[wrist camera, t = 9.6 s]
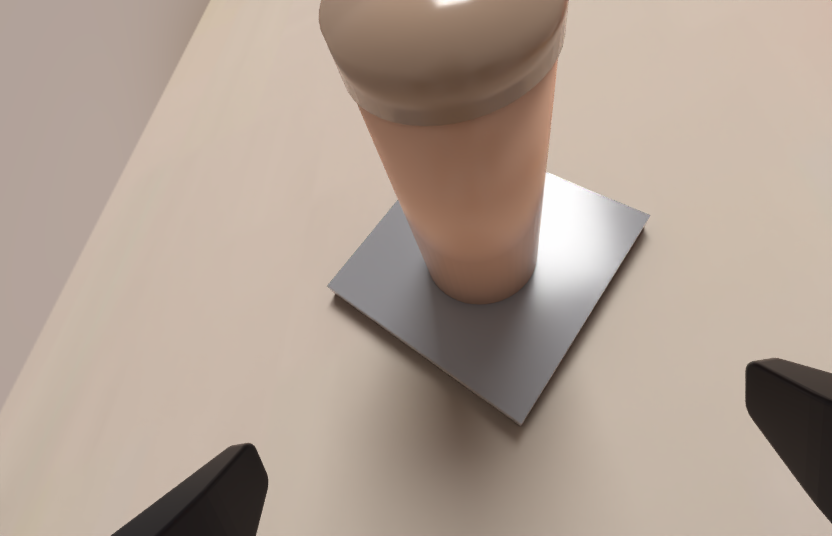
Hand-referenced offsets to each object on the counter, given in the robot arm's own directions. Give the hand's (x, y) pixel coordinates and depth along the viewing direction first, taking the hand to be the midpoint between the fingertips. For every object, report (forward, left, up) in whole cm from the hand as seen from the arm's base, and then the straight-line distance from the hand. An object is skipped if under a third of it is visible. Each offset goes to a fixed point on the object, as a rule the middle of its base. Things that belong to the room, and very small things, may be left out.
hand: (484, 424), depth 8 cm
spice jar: (+5, -7, -9) cm, 13 cm away
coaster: (+5, -7, -11) cm, 14 cm away
